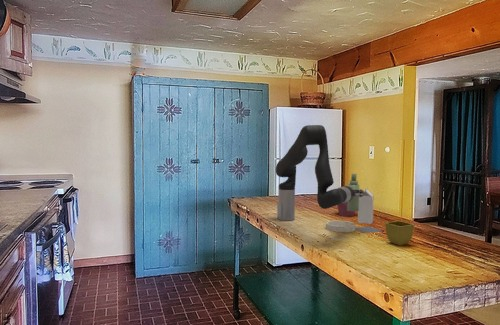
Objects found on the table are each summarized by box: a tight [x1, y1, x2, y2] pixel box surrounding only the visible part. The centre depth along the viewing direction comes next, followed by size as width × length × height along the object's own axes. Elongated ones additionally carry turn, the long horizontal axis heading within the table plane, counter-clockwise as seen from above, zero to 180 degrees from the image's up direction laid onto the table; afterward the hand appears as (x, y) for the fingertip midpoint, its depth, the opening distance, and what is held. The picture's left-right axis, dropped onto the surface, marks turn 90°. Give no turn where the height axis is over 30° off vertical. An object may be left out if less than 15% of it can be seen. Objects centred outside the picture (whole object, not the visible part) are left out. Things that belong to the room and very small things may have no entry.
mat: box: [355, 226, 384, 234], centre depth 189 cm, size 11×11×1 cm
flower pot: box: [384, 220, 415, 246], centre depth 165 cm, size 9×9×9 cm
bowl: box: [325, 220, 357, 233], centre depth 191 cm, size 14×14×3 cm
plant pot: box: [336, 202, 356, 217], centre depth 228 cm, size 14×14×13 cm
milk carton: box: [357, 187, 374, 225], centre depth 207 cm, size 7×7×19 cm
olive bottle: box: [347, 173, 360, 212], centre depth 190 cm, size 6×6×18 cm
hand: (354, 190), depth 192 cm, fingers closed on olive bottle, 5 cm apart
